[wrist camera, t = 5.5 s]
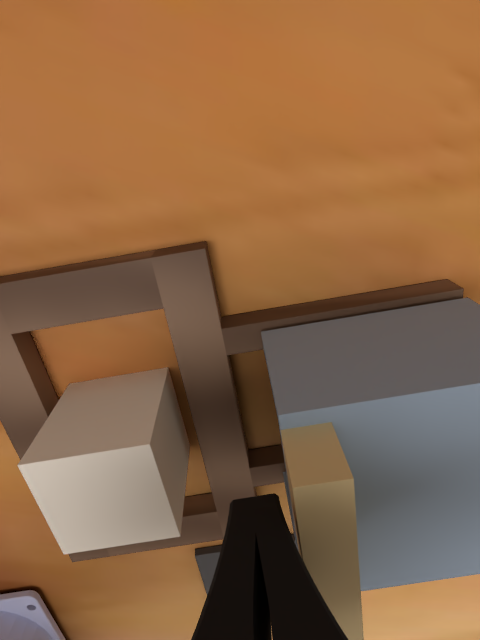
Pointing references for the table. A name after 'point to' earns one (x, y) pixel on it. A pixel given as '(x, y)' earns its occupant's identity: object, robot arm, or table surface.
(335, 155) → the table surface
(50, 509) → the block
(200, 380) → the puzzle board
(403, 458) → the cover
